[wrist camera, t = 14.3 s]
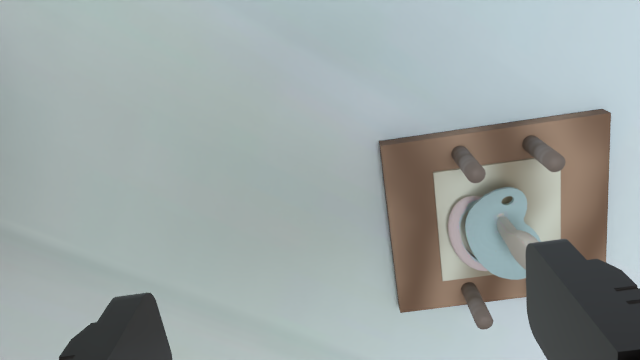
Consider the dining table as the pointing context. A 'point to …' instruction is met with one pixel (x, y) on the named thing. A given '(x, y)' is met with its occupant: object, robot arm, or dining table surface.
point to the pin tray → (481, 178)
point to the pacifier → (493, 232)
